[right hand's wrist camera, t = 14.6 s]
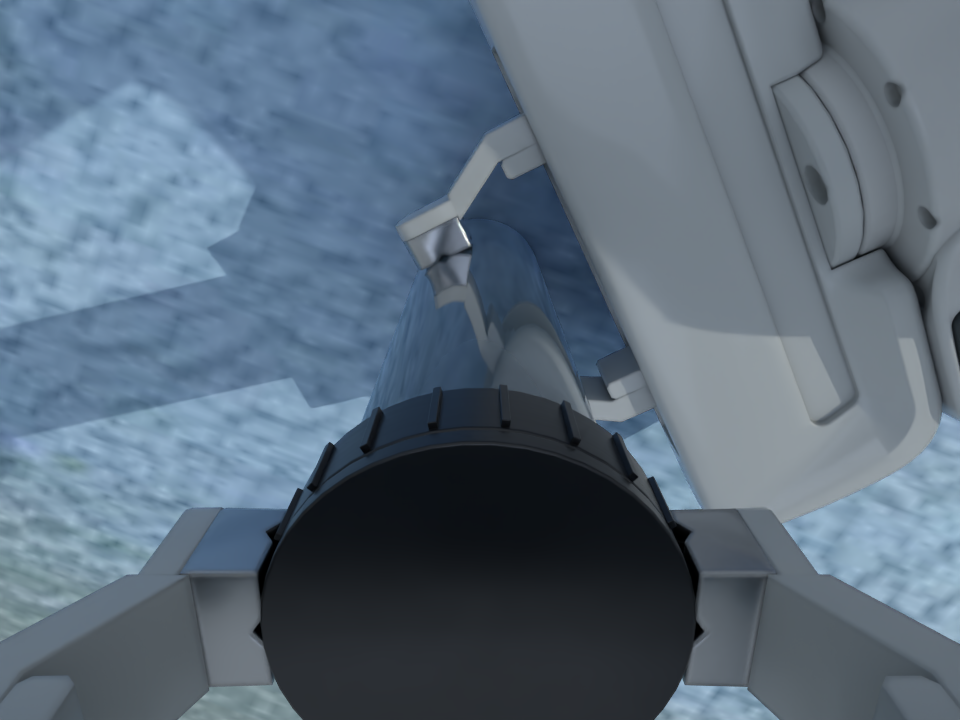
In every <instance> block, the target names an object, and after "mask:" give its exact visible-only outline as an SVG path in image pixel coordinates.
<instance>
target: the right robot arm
mask: <svg viewBox="0 0 960 720" xmlns="http://www.w3.org/2000/svg"><path fill="white" fill-rule="evenodd" d="M286 511H287V509H261V508H225V509H224V508H222V507H215V508H191V509H187V510H185V512H184V513H183V514H182V515H181V517H180V518H179V519H178V521H177V522H176V524H175V525H174V526H173V528H172V529H171V530H170V532H169V533H168V534H167V536H166V537H165V538H164V540H163V541H162V543H161V544H160V545H159V547H158V548H157V549H156V551H155V552H154V553H153V555H152V556H151V558H150V559H149V560H148V562H147V563H146V564H145V566H144V567H143V568H142V570H141V571H140V572H139V574H138V575H126V576H124V577H122V578H120V579H118V580H116V581H114V582H112V583H111V584H109V585H107V586H105V587H103V588H101V589H99V590H97V591H95V592H94V593H92V594H90V595H88V596H86V597H84V598H82V599H80V600H78V601H77V602H75V603H73V604H71V605H69V606H67V607H65V608H63V609H62V610H60V611H58V612H56V613H54V614H52V615H50V616H48V617H46V618H45V619H43V620H41V621H39V622H37V623H35V624H33V625H31V626H29V627H28V628H26V629H24V630H22V631H20V632H18V633H16V634H14V635H12V636H11V637H9V638H7V639H5V640H3V641H1V642H0V720H177V719H179V718H180V717H181V716H182V715H183V714H184V713H185V712H186V711H187V710H188V709H189V708H190V707H192V706H193V705H194V704H195V703H196V702H197V701H198V700H199V699H200V698H201V697H202V696H204V695H205V694H206V693H207V692H208V691H209V687H218V686H253V685H272V684H273V682H274V679H275V678H274V676H273V673H272V671H271V669H270V666H269V663H268V660H267V656H266V653H265V650H264V646H263V639H262V632H261V625H260V613H261V596H262V591H263V586H264V581H265V576H266V573H267V571H268V568H269V565H270V563H271V560H272V557H273V554H274V552H275V550H276V548H277V546H278V543H279V541H277V540H275V539H274V537H275V535H276V532H277V530H278V528H279V526H280V524H281V522H282V520H283V518H284V515H285V513H286ZM670 512H671V514H672V517H673V519H674V521H675V523H676V525H677V526H676V527H674V528H672V529H671V530H672V532H673V534H674V536H675V539H676V541H677V542H678V545H679V547H680V549H681V551H682V553H683V557H684V559H685V562H686V565H687V568H688V570H689V573H690V576H691V579H692V585H693V590H694V595H695V600H696V628H695V635H694V642H693V648H692V652H691V655H690V658H689V661H688V665H687V668H686V671H685V673H684V675H683V677H682V678H683V681H684V684H685V685H703V686H738V687H748V691H750V692H751V693H752V694H753V695H754V696H755V697H756V698H757V699H758V700H759V701H760V702H761V703H762V704H764V705H765V706H766V707H767V708H768V709H769V710H770V711H771V712H772V713H773V714H774V715H775V716H777V717H778V718H779V719H780V720H960V644H958V643H957V642H955V641H953V640H951V639H949V638H947V637H945V636H943V635H942V634H940V633H938V632H936V631H934V630H932V629H930V628H928V627H927V626H925V625H923V624H921V623H919V622H917V621H915V620H913V619H912V618H910V617H908V616H906V615H904V614H902V613H900V612H899V611H897V610H895V609H893V608H891V607H889V606H887V605H885V604H884V603H882V602H880V601H878V600H876V599H874V598H872V597H870V596H869V595H867V594H865V593H863V592H861V591H859V590H857V589H855V588H854V587H852V586H850V585H848V584H846V583H844V582H842V581H840V580H839V579H837V578H835V577H833V576H831V575H819V574H818V573H817V571H816V570H815V569H814V567H813V566H812V565H811V563H810V562H809V561H808V559H807V558H806V556H805V555H804V554H803V552H802V551H801V550H800V548H799V547H798V546H797V544H796V543H795V541H794V540H793V539H792V537H791V536H790V535H789V533H788V532H787V531H786V529H785V528H784V526H783V525H782V524H781V522H780V521H779V520H778V518H777V517H776V516H775V514H774V513H773V511H772V510H770V509H768V508H766V507H754V508H732V509H695V510H670Z"/></svg>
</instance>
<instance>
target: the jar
mask: <svg viewBox="0 0 960 720" xmlns="http://www.w3.org/2000/svg"><path fill="white" fill-rule="evenodd" d="M465 222H466V224H467V226H468V228H469V230H470V232H471V234H472V239H471V241H472V245H471V247H469V248H467V249H465V250H463V251H461V252H459V253H457V254H454V255H451V256H446V255H442V256H441V258H440V259H439V261H438V262H437V263H436V264H434V265H432V266H431V267H429V268H426V269H423V270H419V269H418V271H417V274H416V277H415V279H414V282H413V285H412V287H411V290H410V293H409V295H408V298H407V301H406V303H405V306H404V309H403V311H402V314H401V317H400V319H399V322H398V325H397V328H396V330H395V333H394V336H393V338H392V341H391V344H390V346H389V349H388V352H387V354H386V357H385V360H384V362H383V365H382V368H381V370H380V373H379V376H378V378H377V381H376V384H375V387H374V389H373V392H372V395H371V397H370V400H369V403H368V405H367V408H366V411H365V413H364V416H363V419H362V421H361V422H363V421H364V420H366V419H367V418H369V417H370V416H371V413H372V410H373V409H375V408H377V407H380V408H381V410H384V409H386V408H388V407H390V406H392V405H395V404H398V403H400V402H403V401H405V400H408V399H411V398H414V397H418V396H422V395H426V394H430V393H433V388H435V387H441V388H442V391H446V390H454V389H462V388H495V389H499V385H500V384H501V385H507V386H508V390H511V391H519V392H523V393H527V394H531V395H535V396H539V397H543V398H546V399H549V400H551V401H554V402H556V403H559V404H561V403H562V402H563V400H565V401H567V402H569V403H570V404H571V407H572V409H573V410H575V411H576V412H578V413H580V414H582V415H584V416H586V417H587V418H589V419H591V420H592V421H594V422H595V423H596V420H595V418H594V415H593V412H592V409H591V407H590V404H589V401H588V399H587V396H586V393H585V390H584V388H583V385H582V382H581V379H580V377H579V374H578V371H577V368H576V366H575V363H574V360H573V358H572V355H571V352H570V349H569V347H568V344H567V341H566V338H565V336H564V333H563V330H562V327H561V325H560V322H559V319H558V317H557V314H556V311H555V308H554V306H553V303H552V300H551V297H550V295H549V292H548V289H547V286H546V284H545V281H544V278H543V276H542V273H541V270H540V267H539V265H538V262H537V259H536V256H535V254H534V252H533V250H532V248H531V247H530V245H529V243H528V242H527V241H526V240H525V239H524V237H523V236H522V235H521V234H519V233H518V232H517V231H516V230H514V229H513V228H511V227H510V226H508V225H506V224H504V223H501V222H499V221H496V220H491V219H483V218H476V219H468V220H465Z"/></svg>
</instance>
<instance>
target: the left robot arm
mask: <svg viewBox="0 0 960 720" xmlns="http://www.w3.org/2000/svg"><path fill="white" fill-rule="evenodd" d="M469 2H470V4H471V7H472V9H473V11H474V13H475V15H476V18H477V20H478V22H479V24H480V26H481V29H482V31H483V33H484V35H485V37H486V40H487V42H488V44H489V46H490V48H491V51H492V53H493V55H494V57H495V59H496V62H497V64H498V66H499V68H500V70H501V73H502V75H503V77H504V79H505V81H506V84H507V86H508V88H509V90H510V92H511V95H512V97H513V99H514V101H515V103H516V106H517V108H518V110H519V112H520V114H519V115H517V116H515V117H513V118H511V119H509V120H507V121H506V122H504V123H502V124H500V125H498V126H496V127H494V128H493V129H491V130H489V131H487V132H485V133H484V135H483V136H482V138H481V140H480V141H479V143H478V144H477V146H476V147H475V149H474V151H473V152H472V154H471V155H470V157H469V159H468V160H467V162H466V163H465V165H464V167H463V168H462V170H461V171H460V173H459V175H458V176H457V178H456V179H455V181H454V182H453V184H452V186H451V187H450V189H449V192H448V194H447V195H445V196H444V197H442V198H440V199H438V200H436V201H434V202H432V203H430V204H428V205H426V206H424V207H422V208H420V209H418V210H417V211H415V212H413V213H411V214H409V215H408V216H406V217H405V218H403V219H402V220H400V221H399V222H398V223H397V225H396V226H395V227H396V229H397V231H398V233H399V235H400V237H401V239H402V241H403V242H404V244H405V246H406V248H407V250H408V251H409V253H410V255H411V257H412V258H413V260H414V262H415V264H416V265H417V267H418V269H419V270H423V269H426V268H429V267H431V266H432V265H434V264H436V263H437V262H438V261H439V259H440V258H441V256H442V255H446V256H451V255H454V254H457V253H459V252H461V251H463V250H465V249H467V248H469V247H471V245H472V241H471V239H472V234H471V232H470V230H469V228H468V226H467V224H466V222H465V220H464V218H463V216H464V214H465V213H466V211H467V209H468V208H469V206H470V205H471V203H472V202H473V200H474V199H475V197H476V196H477V194H478V193H479V191H480V190H481V188H482V186H483V185H484V183H485V182H486V180H487V179H488V177H489V176H490V174H491V173H492V171H493V170H494V168H495V166H496V165H497V163H498V162H500V164H501V167H502V169H503V171H504V173H505V175H506V177H507V178H509V179H514V178H516V177H519V176H521V175H523V174H525V173H527V172H529V171H531V170H533V169H535V168H537V167H539V166H541V165H544V167H545V170H546V172H547V174H548V176H549V178H550V181H551V183H552V185H553V187H554V189H555V192H556V194H557V196H558V198H559V200H560V203H561V205H562V207H563V209H564V211H565V214H566V216H567V218H568V220H569V222H570V225H571V227H572V229H573V231H574V233H575V236H576V238H577V240H578V242H579V244H580V247H581V249H582V251H583V253H584V255H585V258H586V260H587V262H588V264H589V266H590V269H591V271H592V273H593V275H594V277H595V280H596V282H597V284H598V286H599V288H600V291H601V293H602V295H603V297H604V299H605V302H606V304H607V306H608V308H609V311H610V313H611V315H612V317H613V319H614V322H615V324H616V326H617V328H618V330H619V333H620V335H621V337H622V339H623V341H624V344H625V346H626V347H625V348H623V349H621V350H619V351H616V352H614V353H612V354H610V355H608V356H606V357H604V358H602V359H600V360H598V361H597V363H596V365H597V367H598V369H599V372H600V374H601V377H591V376H579V377H580V379H581V382H582V385H583V388H584V390H585V393H586V396H587V399H588V401H589V404H590V407H591V409H592V412H593V415H594V418H595V420H604V421H616V422H623V421H625V420H627V419H630V418H632V417H634V416H636V415H639V414H641V413H643V412H646V411H648V410H650V409H653V408H654V410H655V412H656V414H657V416H658V418H659V421H660V423H661V425H662V427H663V429H664V432H665V434H666V436H667V438H668V440H669V443H670V445H671V447H672V449H673V451H674V454H675V456H676V458H677V460H678V462H679V465H680V467H681V469H682V471H683V473H684V476H685V478H686V480H687V482H688V484H689V486H690V488H691V490H692V492H693V494H694V496H695V497H696V499H697V501H698V503H699V505H700V506H701V508H702V509H732V508H754V507H766V508H768V509H770V510H772V511H773V513H774V514H775V516H776V517H777V518H778V520H779V521H780V522H781V524H782V523H785V522H787V521H790V520H793V519H795V518H798V517H800V516H803V515H805V514H808V513H810V512H812V511H815V510H817V509H820V508H822V507H824V506H827V505H829V504H831V503H833V502H836V501H838V500H840V499H842V498H844V497H847V496H849V495H851V494H853V493H855V492H857V491H859V490H861V489H864V488H866V487H868V486H870V485H872V484H874V483H876V482H878V481H880V480H882V479H884V478H885V477H887V476H889V475H891V474H893V473H895V472H896V471H898V470H900V469H901V468H903V467H904V466H906V465H907V464H909V463H910V462H911V461H912V460H914V459H915V458H916V457H917V456H918V455H920V454H921V453H922V451H923V450H924V449H925V448H926V447H927V446H928V445H929V443H930V442H931V441H932V439H933V437H934V436H935V434H936V432H937V429H938V427H939V424H940V420H941V415H942V412H943V413H945V414H947V415H948V416H950V417H952V418H954V419H956V420H958V421H960V0H469Z"/></svg>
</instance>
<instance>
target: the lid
mask: <svg viewBox="0 0 960 720" xmlns="http://www.w3.org/2000/svg"><path fill="white" fill-rule="evenodd" d="M676 526H677V525H676V523H675V521H674V519H673V517H672V514H671V512H670V510H669V508H668V506H667V504H666V502H665V499H664V497H663V495H662V493H661V491H660V489H659V487H658V484H657V482H656V480H655V478H654V477H651V478H647V477H646V475H645V473H644V471H643V470H642V468H641V467H640V465H639V464H638V463H637V462H636V460H635V459H634V458H633V456H632V455H631V454H630V452H629V451H628V450H627V448H626V446H625V443H624V441H623V439H622V437H621V436H620V435H619V434H618V433H617V432H616V433H615V434H614V435H613V436H612V435H611V434H610V433H609V432H608V431H606V430H605V429H603V428H602V427H601V426H599V425H598V424H597V423H595V422H594V421H592V420H591V419H589V418H587V417H586V416H584V415H582V414H580V413H578V412H576V411H575V410H573V409H572V407H571V404H570V403H569V402H567V401H565V400H563V402H562V403H561V404H559V403H556V402H554V401H551V400H549V399H546V398H543V397H539V396H535V395H531V394H527V393H523V392H519V391H511V390H508V386H507V385H501V384H500V385H499V389H495V388H462V389H454V390H446V391H442V388H441V387H435V388H433V393H430V394H426V395H422V396H418V397H414V398H411V399H408V400H405V401H403V402H400V403H398V404H395V405H392V406H390V407H388V408H386V409H384V410H381V408H380V407H377V408H375V409H373V410H372V413H371V416H370V417H369V418H367V419H366V420H364V421H363V422H361V423H360V424H359V425H357V426H356V427H355V428H353V429H352V430H350V431H349V432H348V433H346V434H345V435H344V436H343V437H342V438H341V439H340V440H339V441H338V442H337V443H336V444H335V445H333V444H332V443H331V442H329V443H328V444H327V445H326V446H325V448H324V450H323V452H322V455H321V457H320V459H319V461H318V463H317V466H316V468H315V469H314V471H313V473H312V475H311V476H310V478H309V480H308V482H307V483H306V485H305V487H304V489H303V490H302V489H299V488H297V490H296V492H295V494H294V497H293V499H292V501H291V503H290V505H289V507H288V509H287V511H286V513H285V515H284V518H283V520H282V522H281V524H280V526H279V528H278V530H277V532H276V535H275V537H274V539H275V540H277V541H279V543H278V546H277V548H276V550H275V552H274V554H273V557H272V560H271V563H270V565H269V568H268V571H267V573H266V576H265V581H264V586H263V591H262V596H261V613H260V625H261V632H262V639H263V646H264V650H265V653H266V656H267V660H268V663H269V666H270V669H271V671H272V673H273V676H274V678H275V680H276V682H277V684H278V686H279V688H280V690H281V691H282V693H283V694H284V696H285V697H286V699H287V700H288V702H289V703H290V705H291V706H292V708H293V709H294V710H295V711H296V713H297V714H298V715H299V716H300V717H301V718H302V719H303V720H654V719H655V718H656V717H657V716H658V715H659V713H660V712H661V711H662V710H663V709H664V707H665V706H666V704H667V703H668V701H669V700H670V698H671V697H672V695H673V694H674V692H675V691H676V689H677V687H678V685H679V683H680V681H681V679H682V677H683V675H684V673H685V671H686V668H687V665H688V661H689V658H690V655H691V652H692V648H693V642H694V635H695V628H696V600H695V595H694V590H693V585H692V579H691V576H690V573H689V570H688V568H687V565H686V562H685V559H684V557H683V553H682V551H681V549H680V547H679V545H678V542H677V541H676V539H675V536H674V534H673V532H672V530H671V529H672V528H674V527H676Z"/></svg>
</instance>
